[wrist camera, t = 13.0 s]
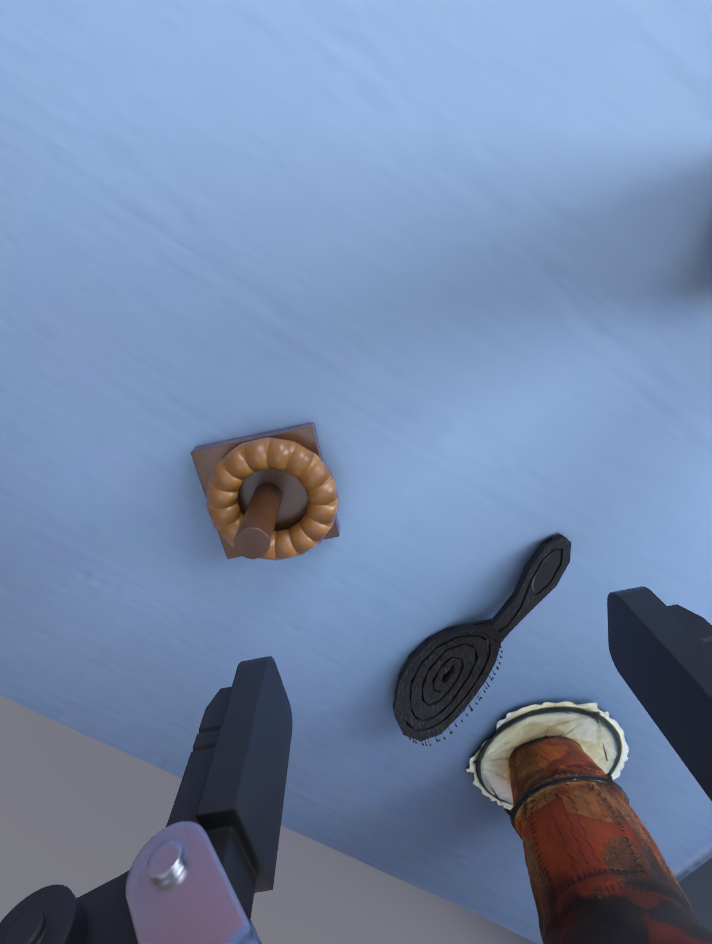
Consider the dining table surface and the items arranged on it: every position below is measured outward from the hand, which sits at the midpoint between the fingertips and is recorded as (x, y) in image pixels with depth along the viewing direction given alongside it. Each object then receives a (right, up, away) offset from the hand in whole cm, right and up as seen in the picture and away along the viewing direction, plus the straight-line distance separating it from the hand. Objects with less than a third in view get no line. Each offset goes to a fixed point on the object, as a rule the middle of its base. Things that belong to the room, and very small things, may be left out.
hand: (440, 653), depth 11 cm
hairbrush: (+10, -11, +36) cm, 39 cm away
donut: (-9, +2, +27) cm, 28 cm away
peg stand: (-9, +3, +29) cm, 31 cm away
